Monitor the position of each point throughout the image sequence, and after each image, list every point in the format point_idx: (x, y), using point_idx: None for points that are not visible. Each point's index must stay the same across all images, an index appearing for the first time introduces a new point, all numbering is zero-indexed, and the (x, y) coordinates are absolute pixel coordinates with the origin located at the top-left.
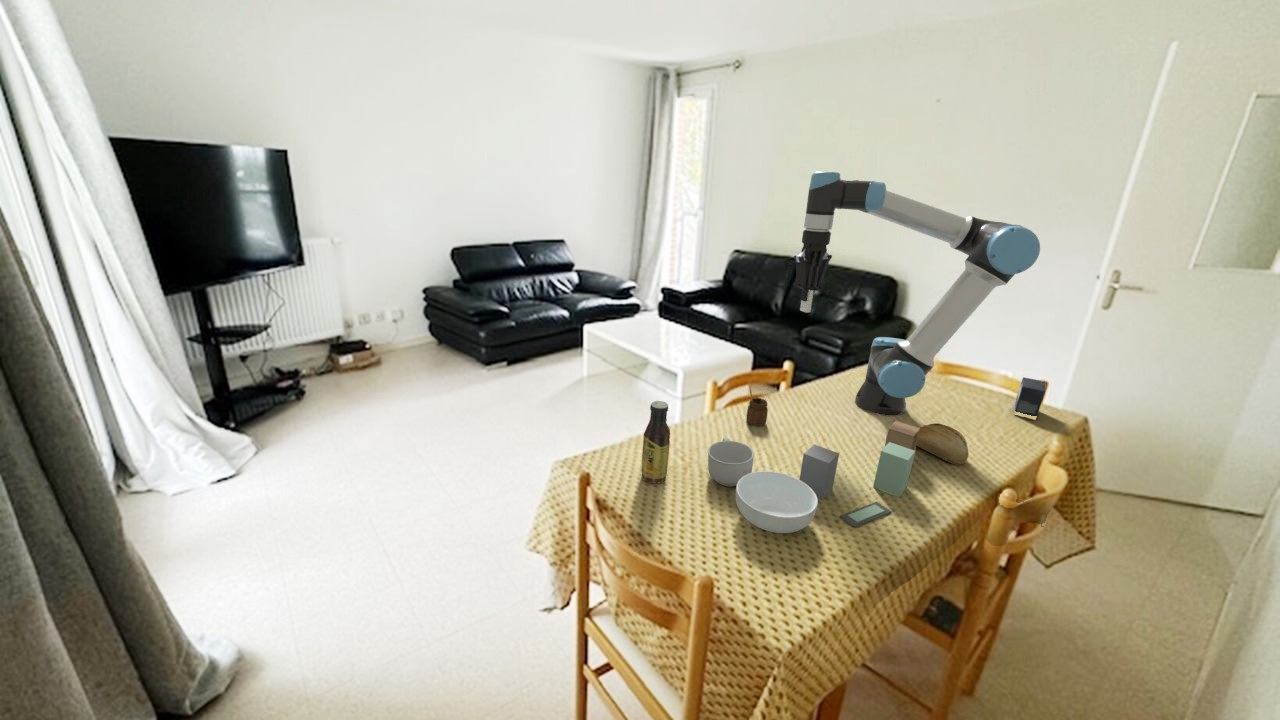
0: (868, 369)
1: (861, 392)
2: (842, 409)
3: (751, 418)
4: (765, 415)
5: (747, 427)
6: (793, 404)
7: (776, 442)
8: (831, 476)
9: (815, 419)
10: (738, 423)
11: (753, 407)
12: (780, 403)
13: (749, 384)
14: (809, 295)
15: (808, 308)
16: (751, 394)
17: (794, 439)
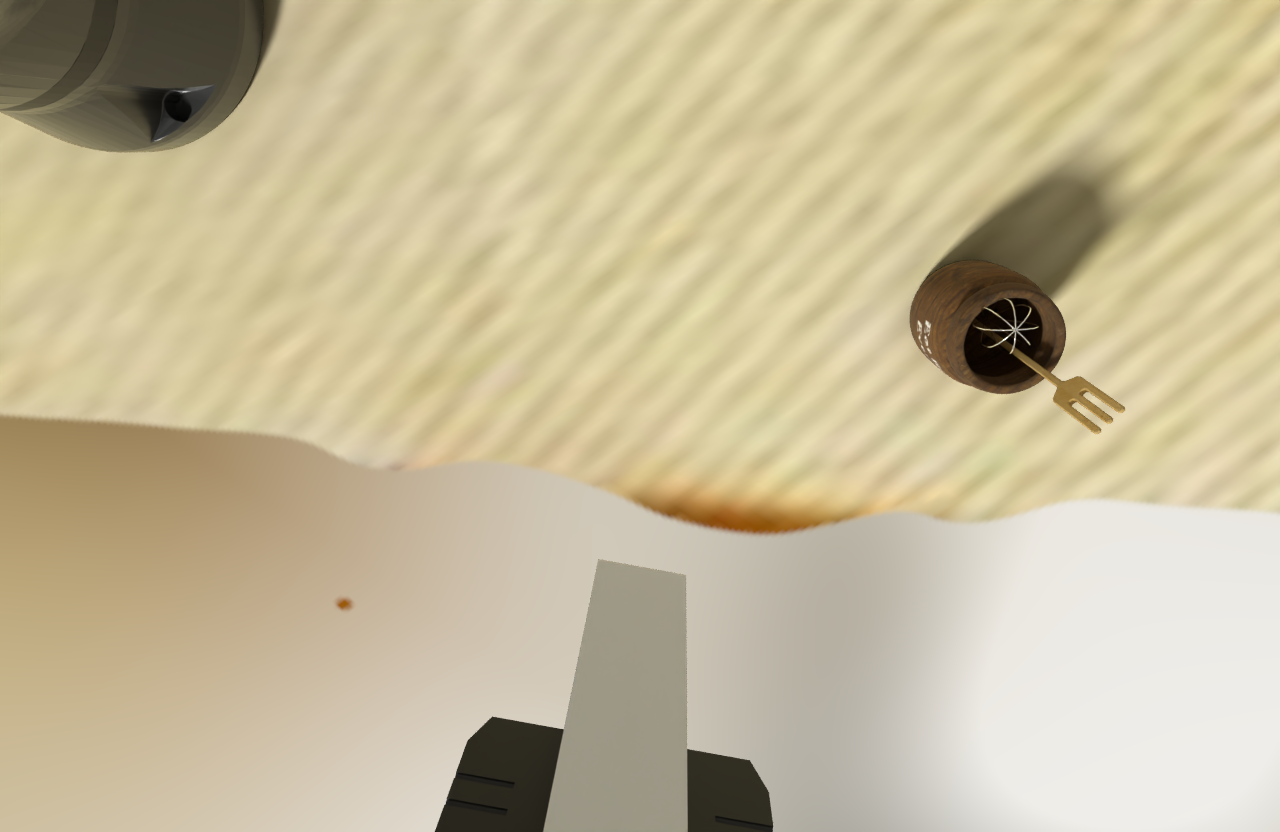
0: (28, 57)
1: (181, 79)
2: (379, 114)
3: (1034, 315)
4: (990, 266)
5: None
6: (579, 333)
7: (1094, 85)
8: None
9: (646, 131)
10: None
11: (1051, 332)
12: (632, 385)
13: (1100, 429)
14: (678, 813)
15: (655, 608)
16: (1084, 379)
17: (981, 44)
